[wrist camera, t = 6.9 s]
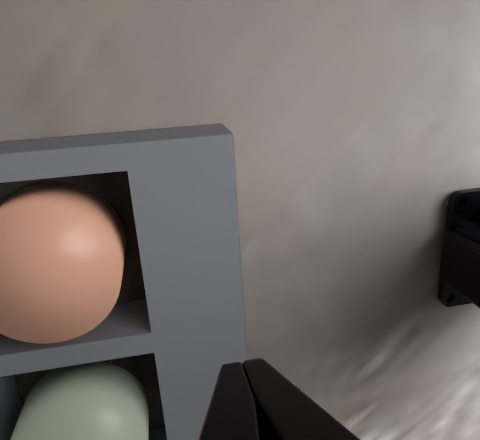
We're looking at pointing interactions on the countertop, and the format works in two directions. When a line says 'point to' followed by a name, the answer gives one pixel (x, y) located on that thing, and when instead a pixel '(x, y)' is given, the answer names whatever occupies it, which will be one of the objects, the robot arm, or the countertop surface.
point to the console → (152, 265)
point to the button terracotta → (58, 262)
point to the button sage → (85, 405)
